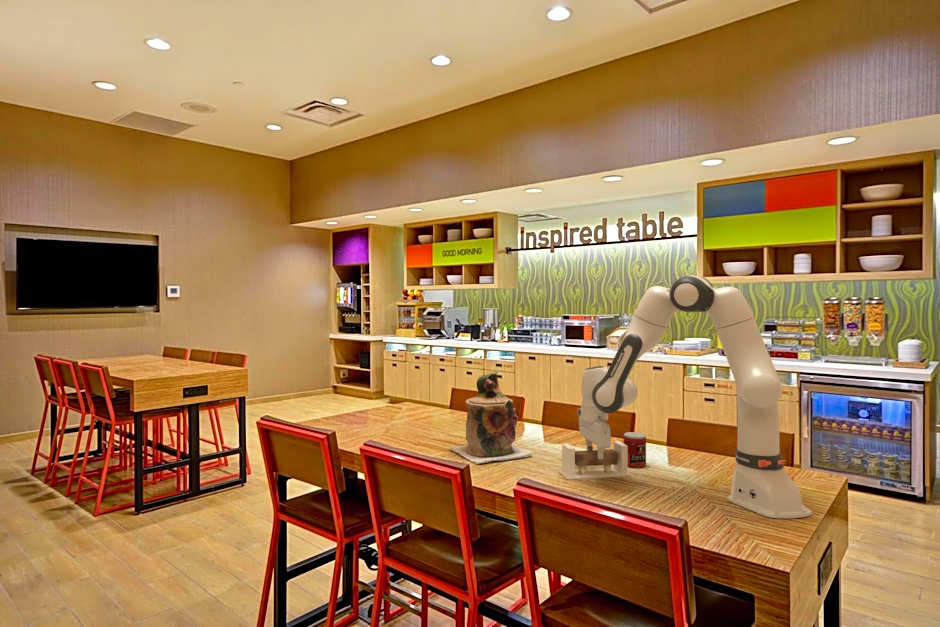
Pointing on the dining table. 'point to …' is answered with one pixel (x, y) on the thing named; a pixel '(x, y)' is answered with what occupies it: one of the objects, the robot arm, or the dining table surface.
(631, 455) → the canned food
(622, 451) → the peg frame
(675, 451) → the dining table surface
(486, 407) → the cookie jar
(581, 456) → the brown rectangular bar
